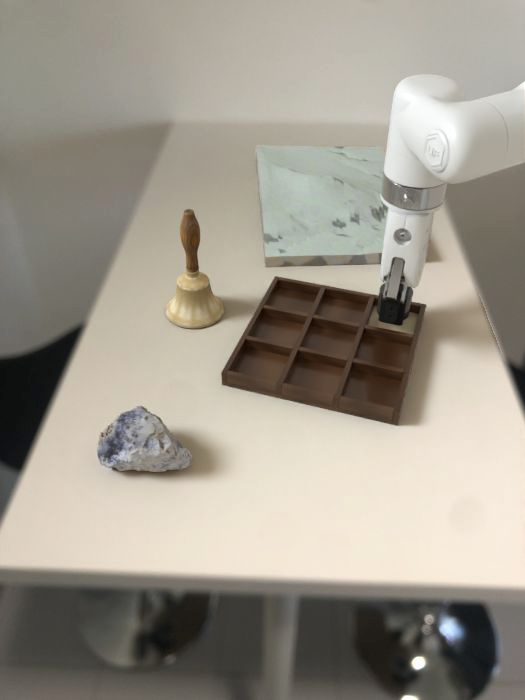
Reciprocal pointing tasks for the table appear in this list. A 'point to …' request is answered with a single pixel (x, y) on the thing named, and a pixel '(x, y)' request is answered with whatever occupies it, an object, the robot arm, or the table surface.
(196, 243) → the hand bell
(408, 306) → the dark grey cylinder
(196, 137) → the table surface
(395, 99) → the robot arm
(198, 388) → the table surface
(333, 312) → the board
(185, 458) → the mineral specimen
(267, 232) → the decorative slab
